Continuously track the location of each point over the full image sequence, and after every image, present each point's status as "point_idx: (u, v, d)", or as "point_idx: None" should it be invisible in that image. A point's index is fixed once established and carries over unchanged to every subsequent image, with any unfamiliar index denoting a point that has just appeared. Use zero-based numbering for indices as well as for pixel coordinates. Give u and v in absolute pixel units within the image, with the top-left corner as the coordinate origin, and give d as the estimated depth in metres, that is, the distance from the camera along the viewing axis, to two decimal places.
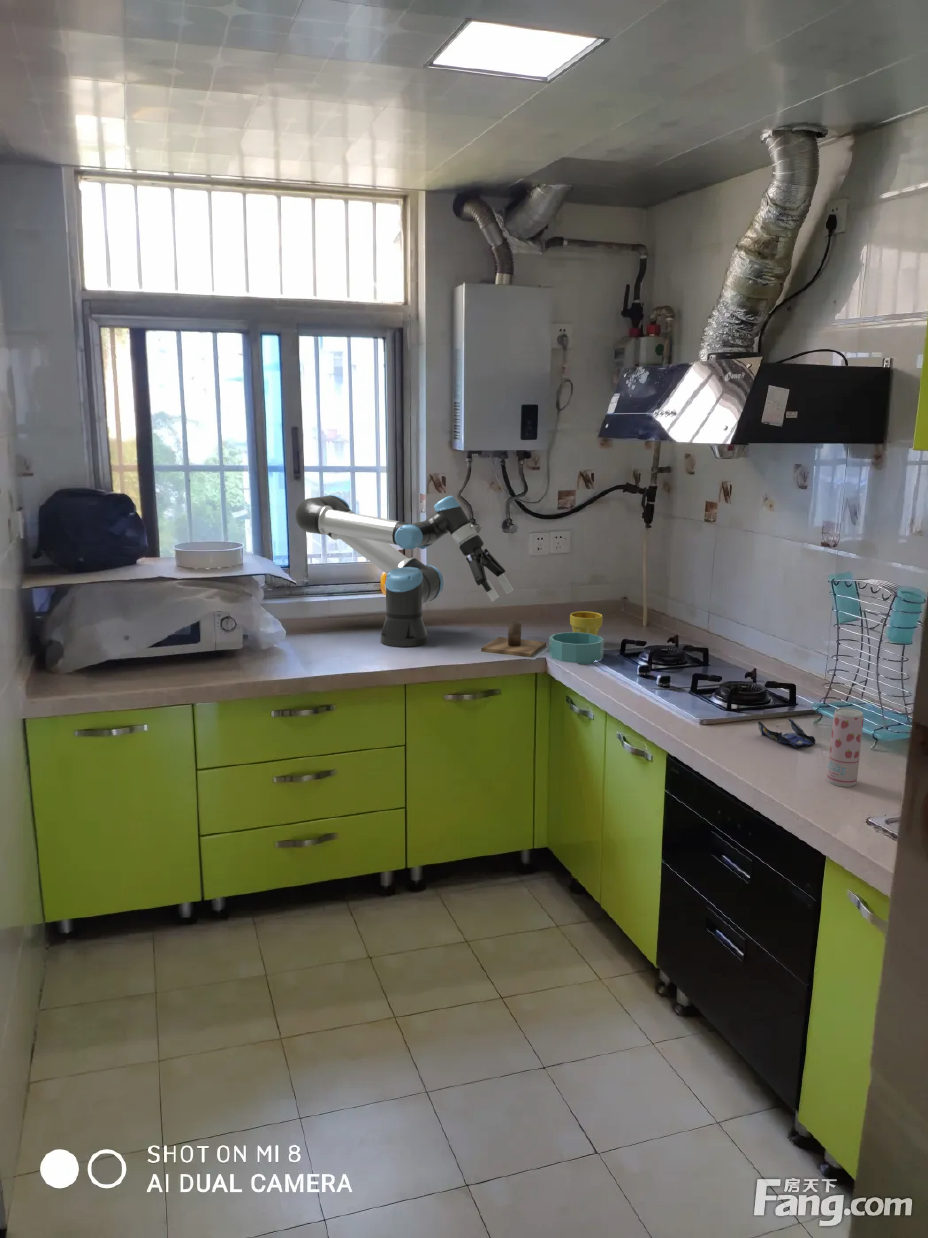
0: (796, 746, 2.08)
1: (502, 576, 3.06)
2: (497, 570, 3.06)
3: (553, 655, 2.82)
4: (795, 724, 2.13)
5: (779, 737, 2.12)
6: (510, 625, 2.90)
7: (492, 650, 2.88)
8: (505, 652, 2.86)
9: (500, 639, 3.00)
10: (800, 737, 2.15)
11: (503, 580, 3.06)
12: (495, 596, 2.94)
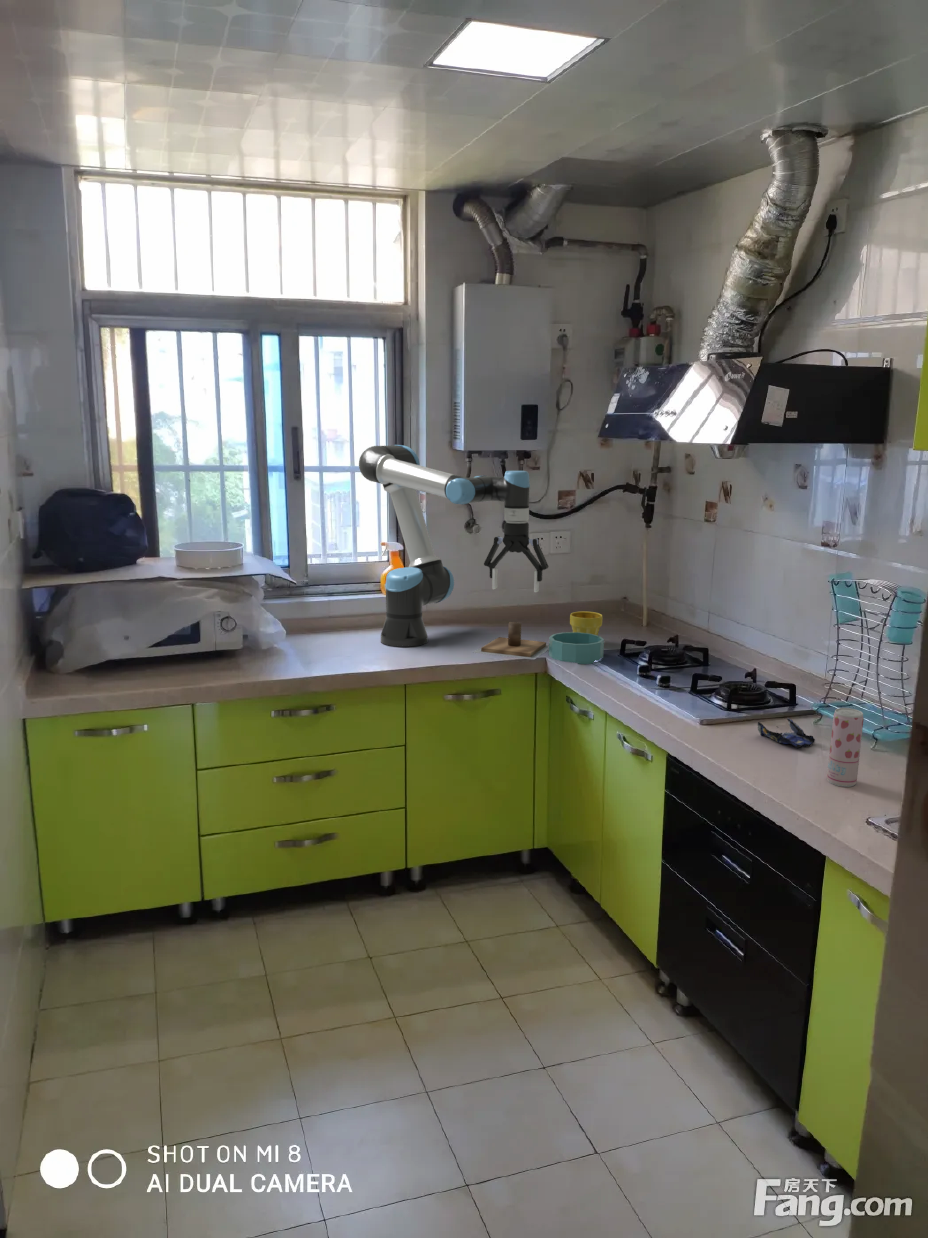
0: (797, 746, 2.08)
1: None
2: None
3: (553, 655, 2.82)
4: (794, 724, 2.13)
5: (779, 737, 2.12)
6: (510, 625, 2.90)
7: (492, 650, 2.88)
8: (505, 652, 2.86)
9: (500, 639, 3.00)
10: (799, 737, 2.15)
11: None
12: None
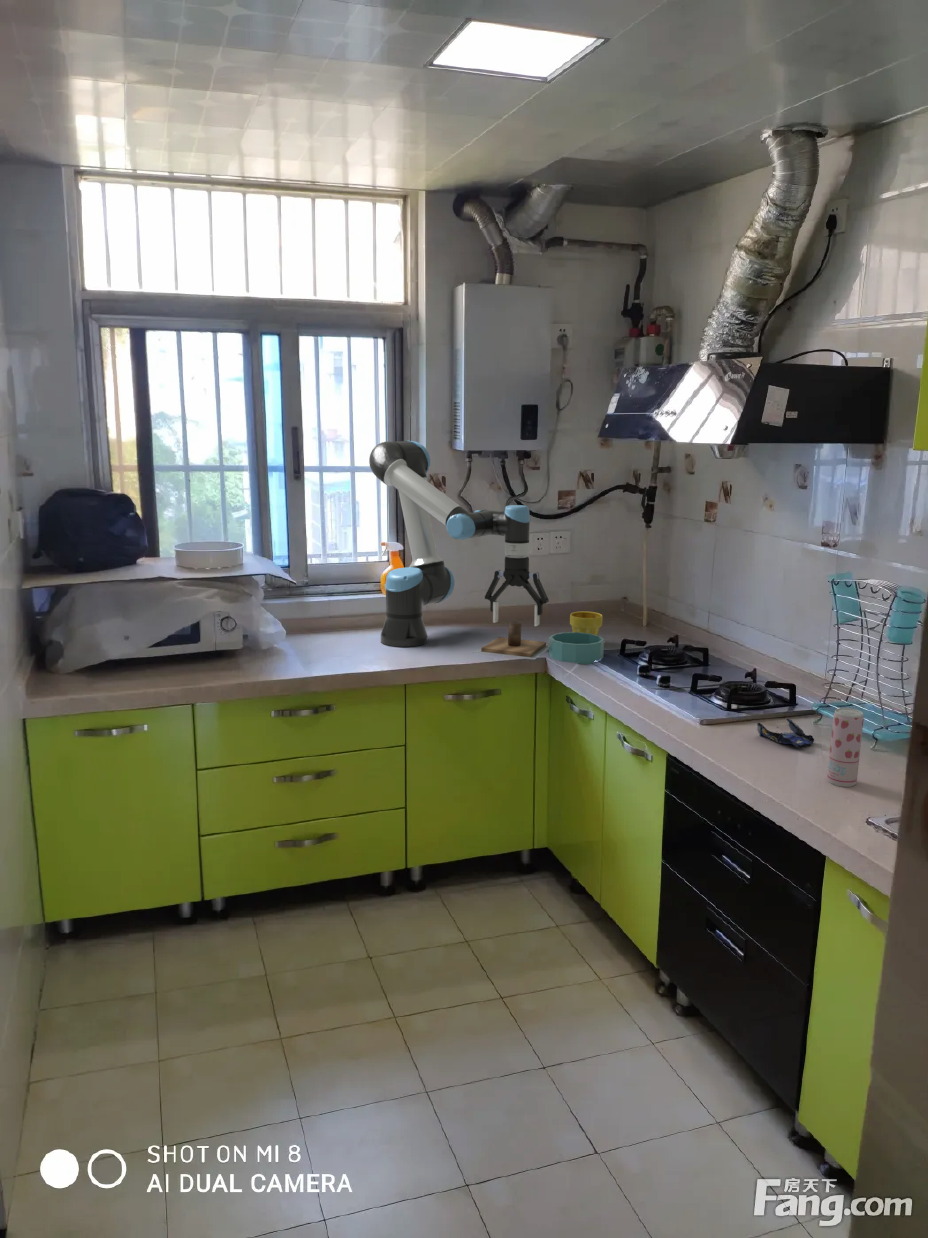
0: (798, 746, 2.08)
1: None
2: None
3: (553, 655, 2.82)
4: (794, 724, 2.13)
5: (780, 738, 2.11)
6: (510, 625, 2.90)
7: (492, 650, 2.88)
8: (505, 652, 2.86)
9: (500, 639, 3.00)
10: (798, 737, 2.15)
11: None
12: None
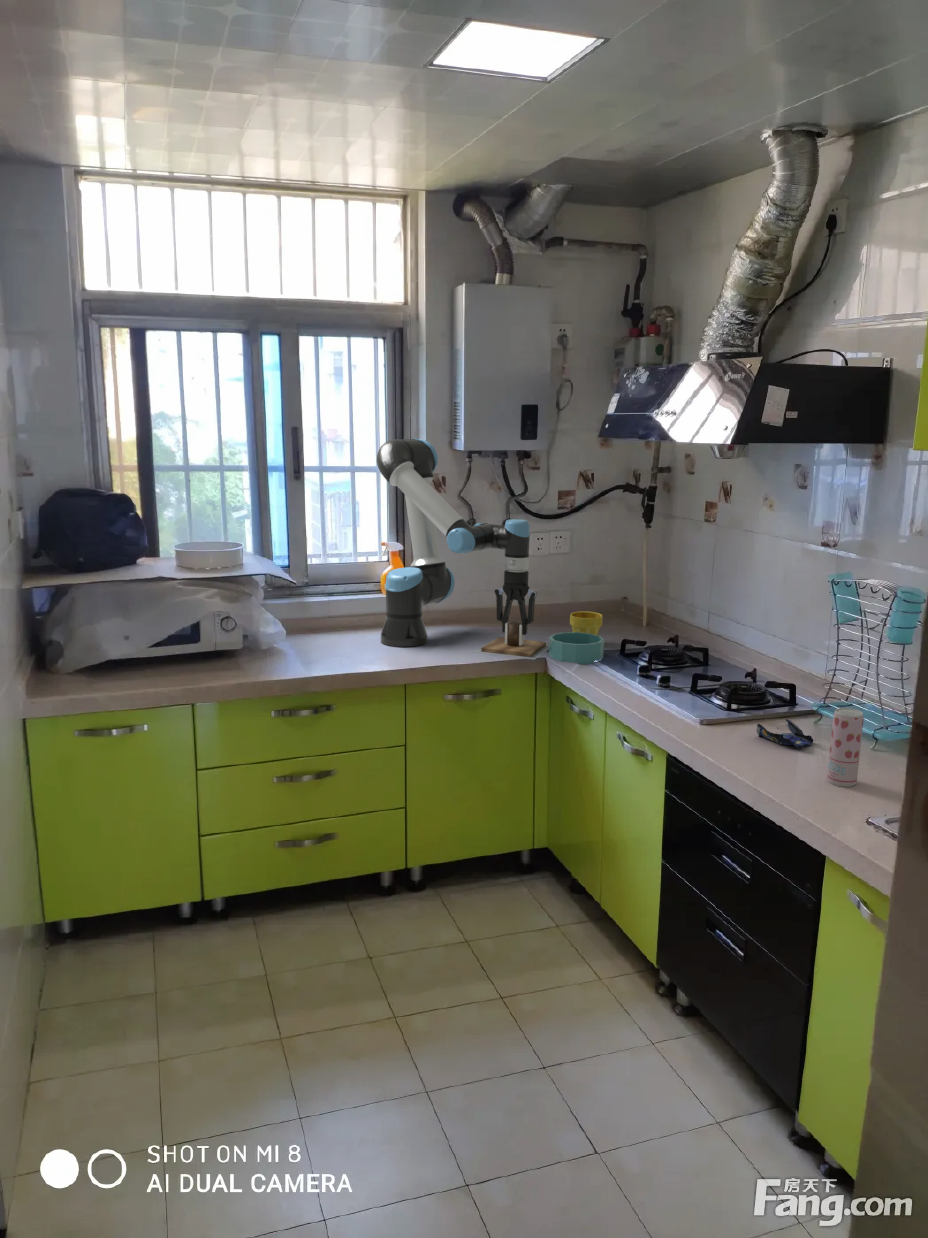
0: (799, 747, 2.07)
1: None
2: None
3: (553, 655, 2.82)
4: (793, 724, 2.13)
5: (780, 738, 2.11)
6: (510, 625, 2.90)
7: (492, 650, 2.88)
8: (505, 652, 2.86)
9: (500, 639, 3.00)
10: (797, 737, 2.15)
11: None
12: None
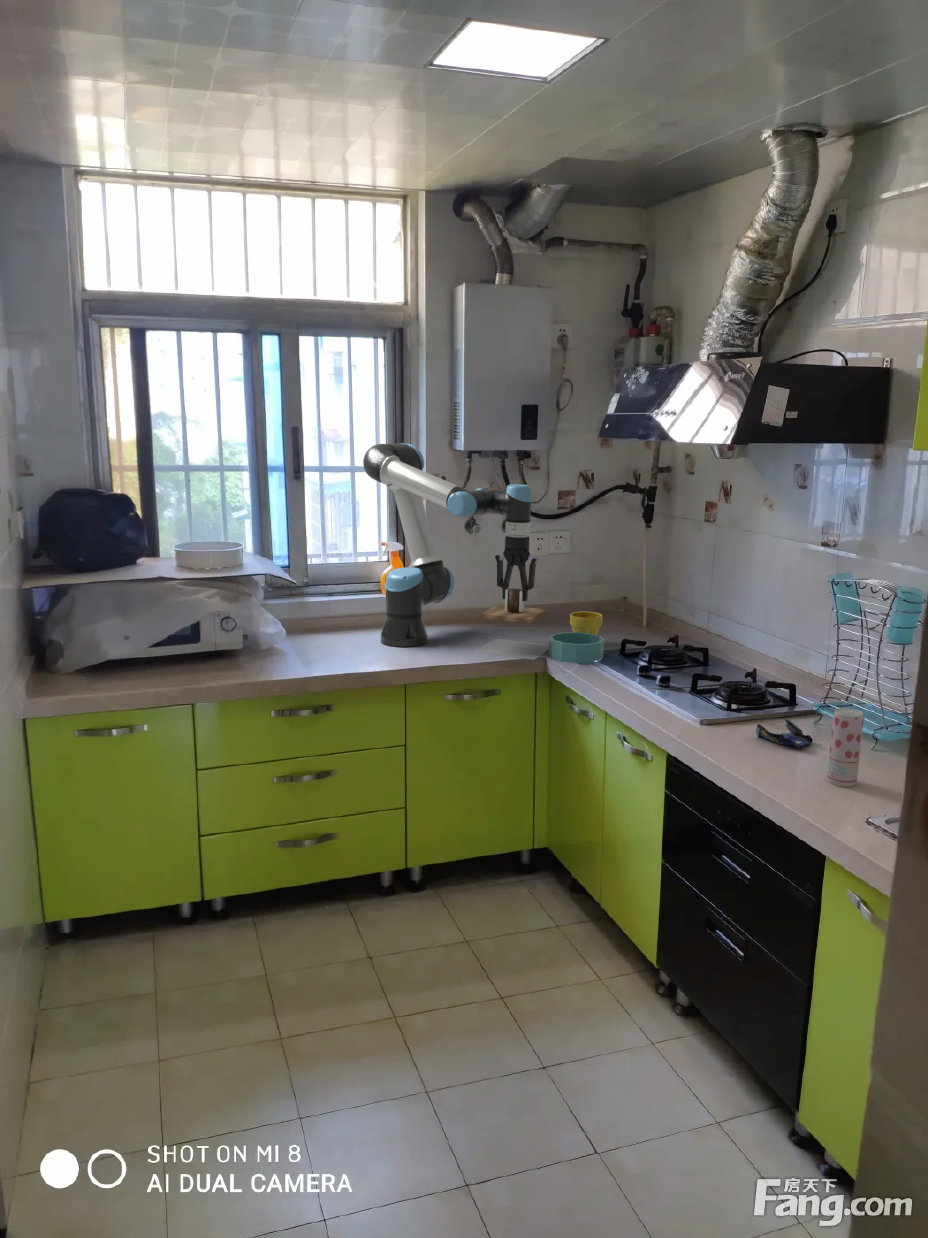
0: (800, 747, 2.07)
1: None
2: None
3: (553, 655, 2.82)
4: (793, 724, 2.13)
5: (780, 739, 2.11)
6: (510, 591, 2.88)
7: (492, 616, 2.86)
8: (505, 618, 2.84)
9: (500, 606, 2.98)
10: (796, 737, 2.15)
11: None
12: None
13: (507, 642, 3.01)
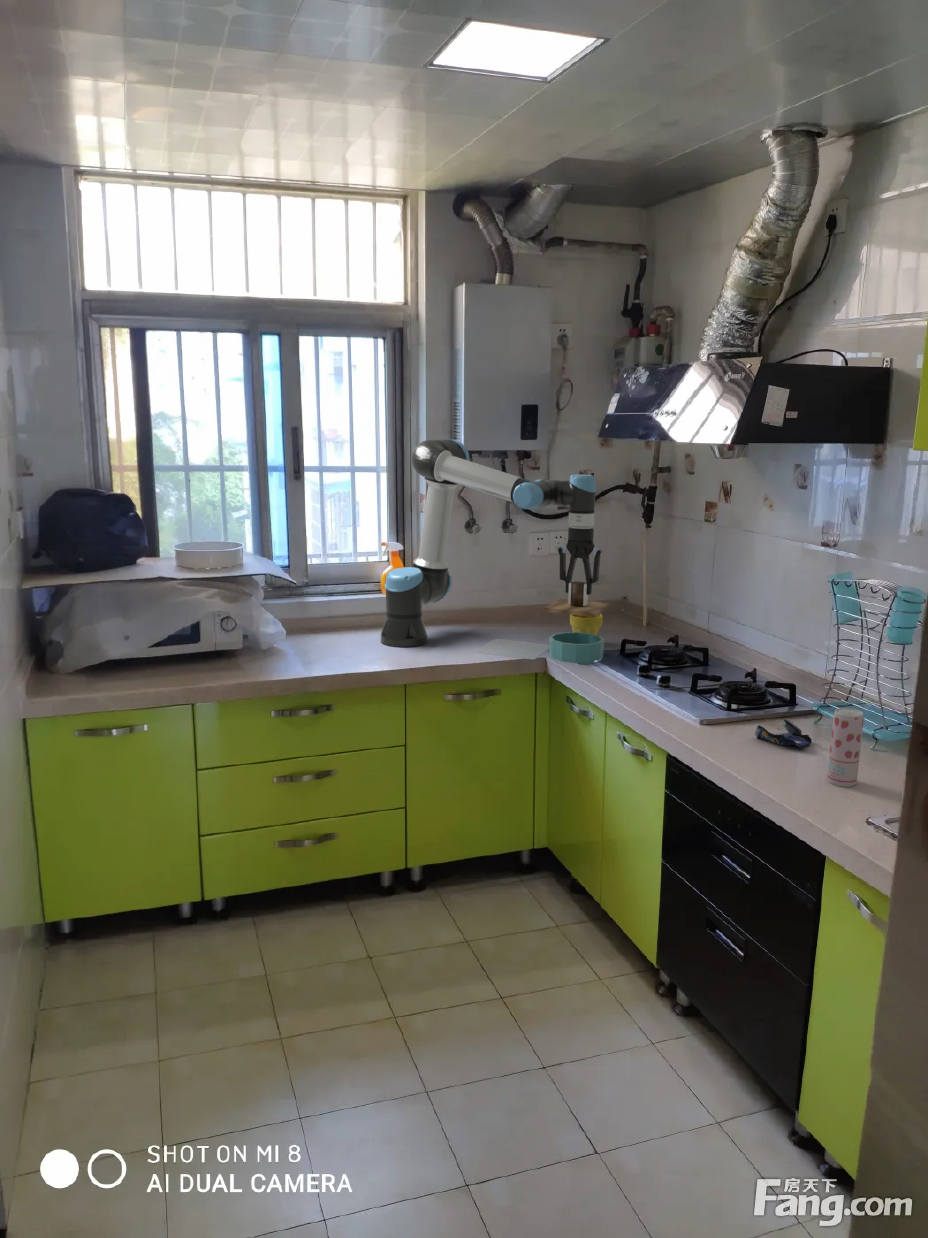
0: (802, 747, 2.07)
1: None
2: None
3: (553, 655, 2.82)
4: (792, 724, 2.13)
5: (781, 739, 2.10)
6: (574, 584, 2.80)
7: (556, 610, 2.77)
8: (570, 612, 2.76)
9: (562, 600, 2.89)
10: (794, 737, 2.15)
11: None
12: None
13: (507, 642, 3.01)
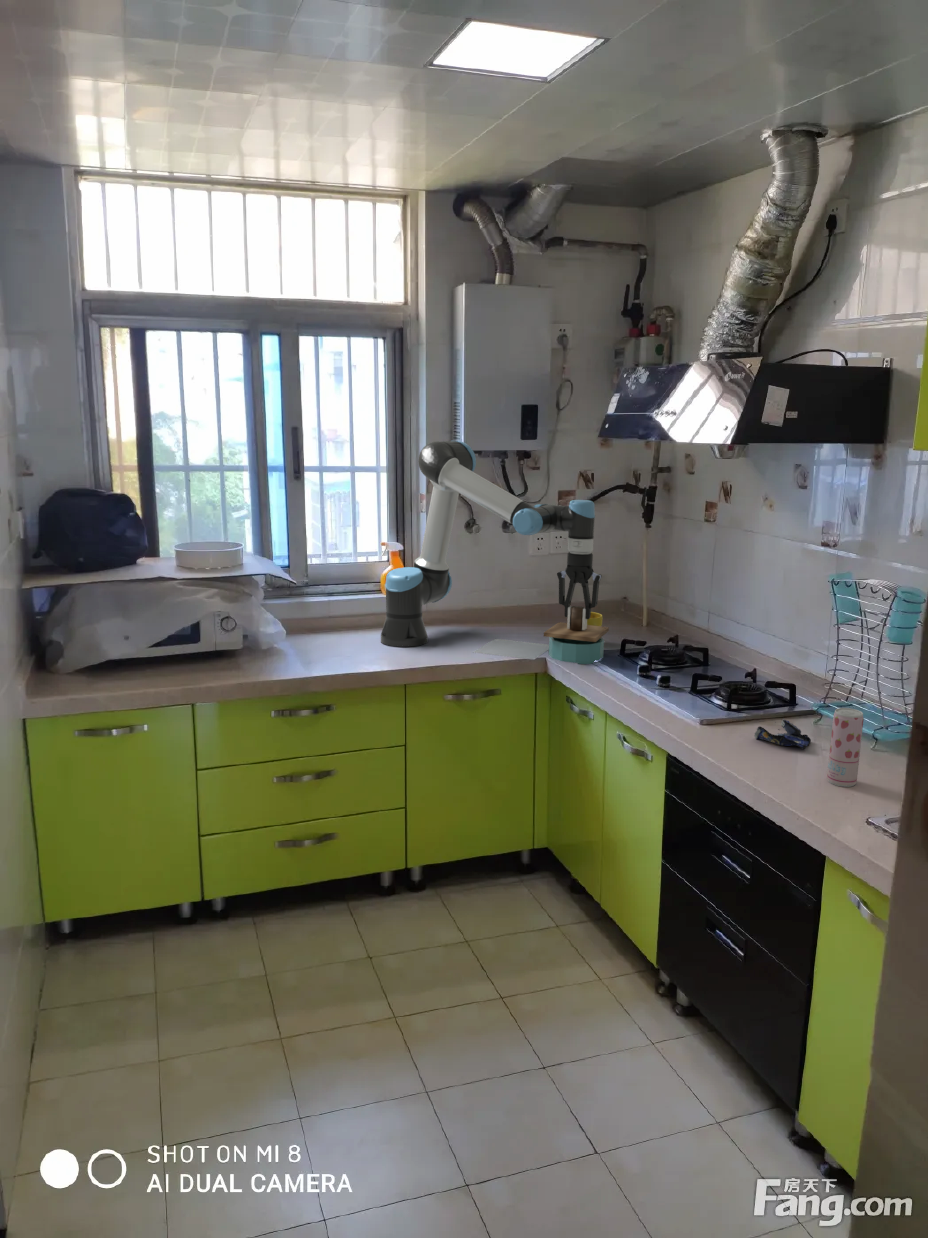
0: (803, 747, 2.07)
1: None
2: None
3: (553, 655, 2.82)
4: (791, 725, 2.13)
5: (782, 740, 2.10)
6: (573, 609, 2.82)
7: (555, 635, 2.79)
8: (569, 637, 2.77)
9: (561, 624, 2.91)
10: (793, 737, 2.15)
11: None
12: None
13: (507, 642, 3.01)
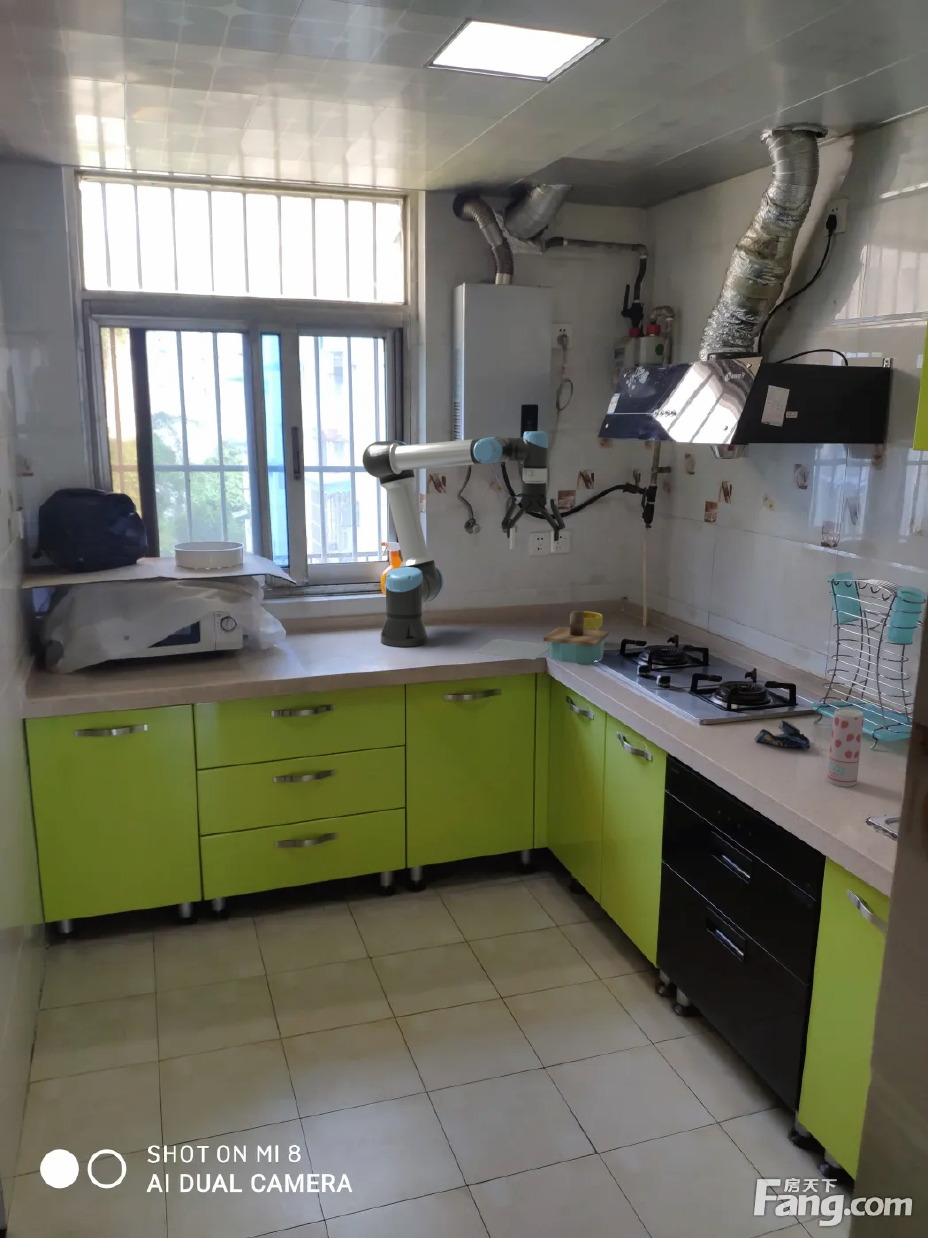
0: (808, 747, 2.07)
1: None
2: None
3: (553, 655, 2.82)
4: (790, 725, 2.12)
5: (785, 741, 2.09)
6: (573, 614, 2.82)
7: (555, 639, 2.79)
8: (569, 641, 2.77)
9: (560, 629, 2.91)
10: (790, 737, 2.15)
11: None
12: None
13: (507, 642, 3.01)
